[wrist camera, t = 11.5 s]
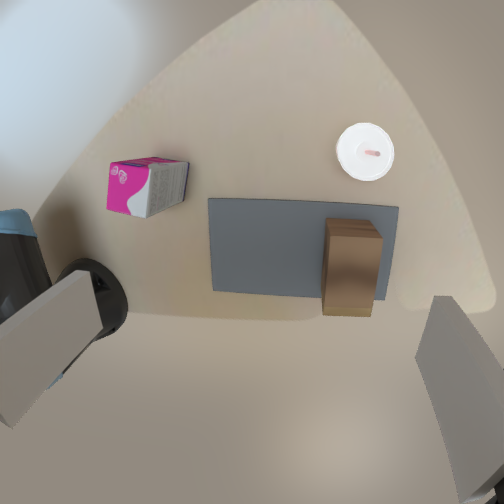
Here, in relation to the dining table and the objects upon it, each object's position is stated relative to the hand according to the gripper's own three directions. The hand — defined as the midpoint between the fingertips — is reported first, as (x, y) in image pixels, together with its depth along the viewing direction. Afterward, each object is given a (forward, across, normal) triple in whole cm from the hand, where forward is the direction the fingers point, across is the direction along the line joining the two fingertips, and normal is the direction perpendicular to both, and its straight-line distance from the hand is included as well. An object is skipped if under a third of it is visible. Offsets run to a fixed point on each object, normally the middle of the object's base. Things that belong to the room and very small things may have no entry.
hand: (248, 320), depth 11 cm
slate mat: (+32, +2, -9) cm, 33 cm away
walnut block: (+31, +8, -9) cm, 33 cm away
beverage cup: (+32, +8, +5) cm, 33 cm away
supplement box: (+32, -17, +1) cm, 36 cm away
